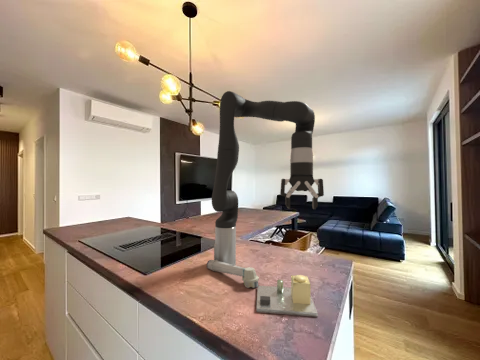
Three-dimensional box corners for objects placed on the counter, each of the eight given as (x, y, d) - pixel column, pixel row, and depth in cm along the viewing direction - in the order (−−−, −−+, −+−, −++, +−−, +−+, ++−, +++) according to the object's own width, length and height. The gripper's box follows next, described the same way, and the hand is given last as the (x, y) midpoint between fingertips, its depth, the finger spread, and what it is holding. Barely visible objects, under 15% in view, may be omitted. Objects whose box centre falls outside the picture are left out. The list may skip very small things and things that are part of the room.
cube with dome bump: (293, 303, 62) (293, 281, 62) (291, 293, 67) (291, 273, 67) (310, 304, 61) (310, 282, 61) (306, 294, 66) (307, 274, 66)
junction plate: (256, 312, 59) (256, 291, 59) (257, 288, 72) (257, 271, 72) (317, 316, 57) (317, 295, 57) (307, 291, 70) (307, 273, 70)
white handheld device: (214, 257, 91) (260, 264, 75) (215, 273, 90) (262, 283, 74) (204, 261, 87) (251, 269, 71) (206, 277, 86) (253, 289, 70)
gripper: (281, 161, 69) (281, 209, 69) (326, 160, 67) (326, 210, 67) (279, 163, 76) (279, 206, 76) (319, 162, 74) (319, 207, 74)
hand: (301, 208), depth 71 cm, fingers open, 8 cm apart
